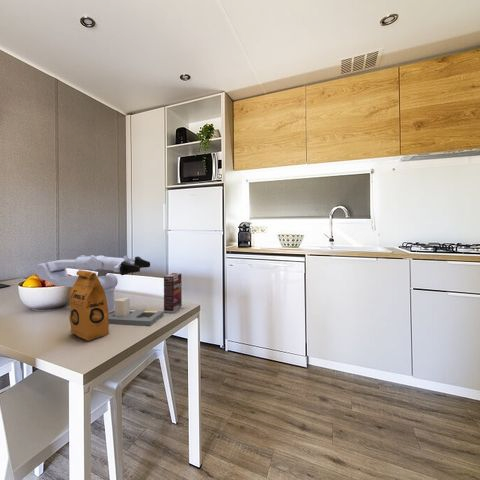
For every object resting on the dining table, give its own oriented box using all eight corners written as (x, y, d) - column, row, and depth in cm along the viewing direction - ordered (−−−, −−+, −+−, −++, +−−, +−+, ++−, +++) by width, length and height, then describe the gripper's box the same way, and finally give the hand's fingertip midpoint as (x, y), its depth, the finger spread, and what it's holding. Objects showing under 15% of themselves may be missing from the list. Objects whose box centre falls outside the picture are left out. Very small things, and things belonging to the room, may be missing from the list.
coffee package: (81, 345, 76) (79, 275, 75) (66, 334, 83) (64, 271, 82) (113, 333, 84) (112, 271, 82) (97, 325, 91) (96, 267, 90)
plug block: (114, 320, 96) (114, 300, 96) (121, 316, 100) (120, 297, 100) (124, 320, 96) (123, 300, 95) (130, 317, 99) (129, 297, 99)
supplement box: (173, 313, 104) (173, 276, 103) (163, 312, 105) (162, 276, 104) (182, 306, 112) (182, 273, 111) (172, 306, 113) (172, 272, 112)
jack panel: (101, 323, 93) (101, 318, 93) (119, 313, 104) (119, 308, 104) (150, 325, 90) (150, 320, 90) (163, 315, 101) (163, 310, 101)
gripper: (103, 258, 97) (133, 261, 94) (126, 251, 111) (153, 254, 108) (104, 275, 98) (134, 278, 95) (127, 266, 112) (154, 269, 109)
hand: (144, 266), depth 102 cm, fingers open, 7 cm apart
